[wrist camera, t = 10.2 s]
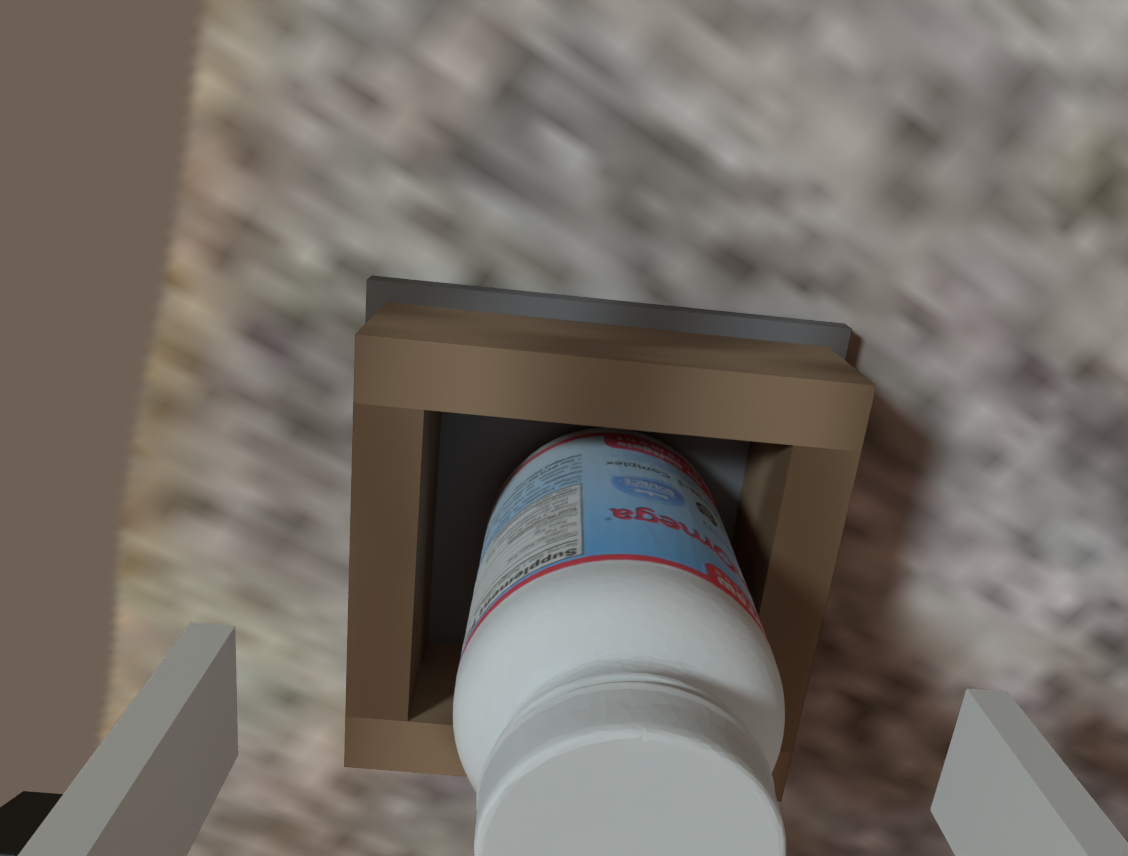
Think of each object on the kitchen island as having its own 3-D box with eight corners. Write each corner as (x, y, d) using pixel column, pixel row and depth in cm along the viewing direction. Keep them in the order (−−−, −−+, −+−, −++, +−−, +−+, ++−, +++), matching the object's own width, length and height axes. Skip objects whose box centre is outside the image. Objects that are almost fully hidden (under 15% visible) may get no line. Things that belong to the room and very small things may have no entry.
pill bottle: (759, 537, 23) (923, 880, 13) (585, 663, 25) (603, 1068, 14) (617, 372, 22) (671, 607, 11) (439, 515, 23) (338, 845, 13)
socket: (844, 323, 22) (904, 365, 18) (761, 716, 26) (796, 818, 22) (371, 275, 22) (331, 307, 18) (358, 682, 26) (323, 781, 22)
